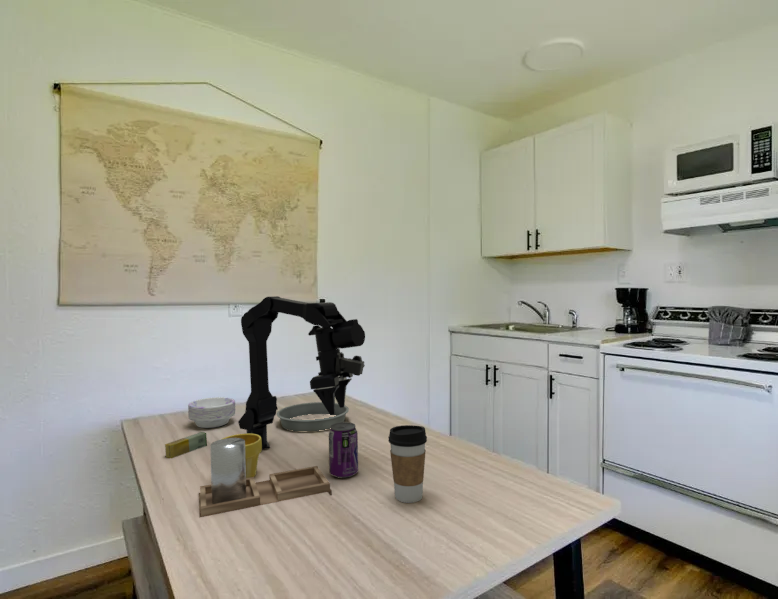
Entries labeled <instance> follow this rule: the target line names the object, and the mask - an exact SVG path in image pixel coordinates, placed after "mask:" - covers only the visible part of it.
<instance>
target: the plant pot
mask: <svg viewBox="0 0 778 599" xmlns="http://www.w3.org/2000/svg"><path fill="white" fill-rule="evenodd" d="M226 438H241V439H244V440H245V460H246V478H251V477H254V478H255V476H256V475H257V469H258V461H259V458H260V457H259V456H260V454H261V453H262V450H263V449H262V440H261V436H259V435H257V434H247V433H237V434H232V435H228V436H225V437H223V438H221V439H226Z"/></svg>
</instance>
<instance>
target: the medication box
mask: <svg viewBox="0 0 778 599" xmlns="http://www.w3.org/2000/svg"><path fill="white" fill-rule="evenodd" d="M207 446H208V441H207V432H205V431H202V432H201V431H200V432H197V433H194V434H191V435H188V436H184V437H183V438H180V439H177V440H173V441H170V442H168V443H166V444H164V448H165V450H164V451H165V458H167V459H175V458H177V457H179V456H182V455H185V454H188V453H190V452H194V451H196V450H199V449H202V448H204V447H207Z"/></svg>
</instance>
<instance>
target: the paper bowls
mask: <svg viewBox="0 0 778 599" xmlns="http://www.w3.org/2000/svg"><path fill="white" fill-rule="evenodd" d="M187 406H188V407H187V410H188V412H187V413H188V414H187V416H188V419H189V420H191V421H193V422H194V424H195V425H196V426H197V427H199V428H202V429H212V428H214V429H215V428H220V427H222V426H225V425H226V424H228V423H229V422H230V419H231V418H232V417H234V416H235V415H236V400H235V399H233V398H230V397H224V396H223V397H221V396H220V397H219V396H218V397H207V398H199V399H196V400H193V401H191V402H189V403H188V405H187Z"/></svg>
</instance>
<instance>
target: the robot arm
mask: <svg viewBox="0 0 778 599" xmlns="http://www.w3.org/2000/svg"><path fill="white" fill-rule="evenodd" d="M279 313H280V314H286V315H289V316H295V317H300V318H302V319H303V320H304V321H305V322H306V323H309V324H311V325H313V326H312V328H311V329H310V330H309V332H308V334H307V335H308V336H315V343H316V350H317V356H315V360H316V362H317V361H318V363H319V372H318V373H317V375H315V376H313V377H312V378H311V379H310V381H309V386H310V387H309V388H310V390H313V391H312V392H313V393H315V395H316V396H317V397H318V399H319V401H320V402H322V403H323V405H324V406H325V408H326V409H327V411H328V412H329V414H330V415H334V414H335V403H338V404H339V406H340V408H342V407H344V405H345V403H346V394H347V386H348V385H349V383H350V382H351V381H352V378H353V377H354V376H358V377H359V376H360V375H363V372H364V368H365V361H363V359H362V356H360V355H354V356H353V357H352V358H349V357H348V358H347V357H345V355H344V353H343V351H341V349H348V348H357V347H361V346H363V345H364V343H365V340H366V332H365V331H364V328H363V326H362V325H361V324H360V323H359V321H358V318H355V319H349V320H346V318H345V317H344V316H343V315H342V314H341V312H340V311H339V310H338V308H337V306H336V304H335V303H334V302H329V301H328V302H305V301H300V300H295V299H289V298H284V297H283V298H282V297H280V296H266V297H264V298H263V299H262V300H261V301H260V302H259V303H258V304H256V305H254V306H252V307H251V308H250V309H248V310H247V311H246V312H245V313H243V315H242V316H241V318H240V325H241V332H242V334H243V336H244V338H245V339H246V341H247V342H248V356H249V358H248V359H249V373H250V375H249V377H250V378H249V379H250V392H249V395H248V398H247V399H246V402H245V410H244V411H245V412H244V414H243V415H242V416H241V417H240V418H239V420H238V421H237V422H238V426H239V429H240V430H244V431H246V434H257V435H259V436H261V440H262V450H265V449H270V447H271V445H270V443H269V442H268V433H267V432H268V431H267V430H268V427H267V426H268V425H270V424H273V423H274V421H275V416H277V411H279V410H278V404H277V401H278V398H277V396H276V395H273V394H272V393H271V391H270V388H269V384H270V383H269V366H268V345H267V344H268V339H269V338H270V335H271V333H272V328H273V323H274V322H275V320H276V319H277V318H278V316H279ZM345 406H346V405H345Z"/></svg>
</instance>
